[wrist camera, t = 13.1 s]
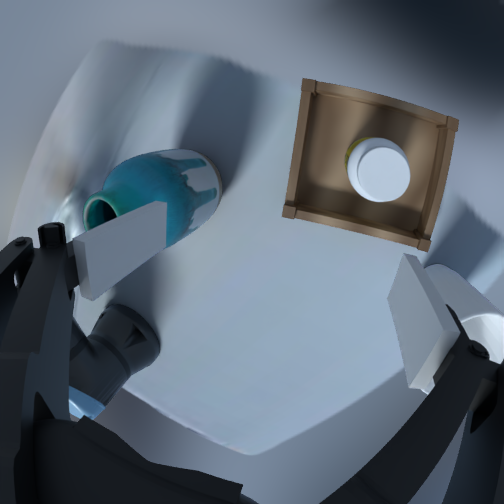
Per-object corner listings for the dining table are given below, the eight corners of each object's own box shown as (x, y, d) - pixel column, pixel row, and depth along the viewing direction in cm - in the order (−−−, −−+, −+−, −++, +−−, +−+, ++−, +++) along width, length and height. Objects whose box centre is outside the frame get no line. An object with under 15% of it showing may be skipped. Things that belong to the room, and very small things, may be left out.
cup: (455, 232, 31) (510, 289, 17) (475, 297, 33) (515, 368, 19) (383, 272, 36) (402, 349, 22) (411, 331, 38) (428, 412, 24)
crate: (288, 207, 37) (281, 216, 33) (306, 85, 30) (302, 78, 26) (418, 239, 33) (427, 252, 29) (445, 121, 26) (459, 119, 22)
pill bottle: (334, 151, 32) (334, 158, 22) (377, 128, 29) (397, 124, 19) (359, 196, 33) (369, 222, 23) (402, 174, 30) (429, 191, 20)
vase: (222, 230, 41) (143, 298, 24) (160, 205, 42) (65, 252, 25) (242, 158, 36) (158, 182, 19) (174, 138, 37) (68, 151, 20)
